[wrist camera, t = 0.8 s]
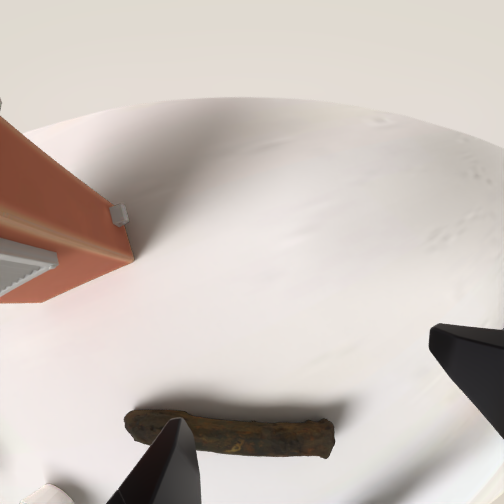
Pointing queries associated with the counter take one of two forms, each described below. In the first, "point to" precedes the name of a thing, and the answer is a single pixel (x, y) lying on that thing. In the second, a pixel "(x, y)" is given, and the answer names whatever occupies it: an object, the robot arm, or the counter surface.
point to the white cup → (48, 496)
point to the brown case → (52, 225)
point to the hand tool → (238, 434)
